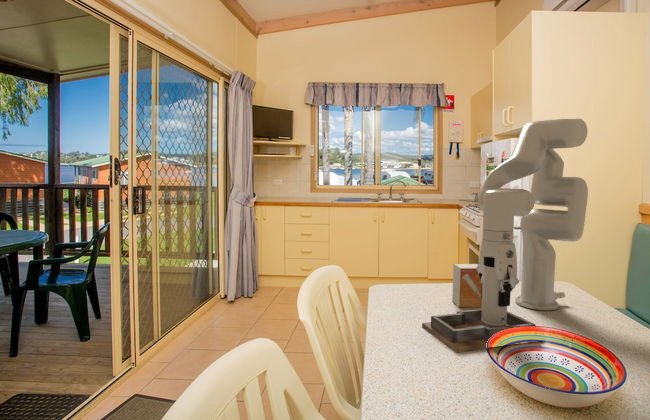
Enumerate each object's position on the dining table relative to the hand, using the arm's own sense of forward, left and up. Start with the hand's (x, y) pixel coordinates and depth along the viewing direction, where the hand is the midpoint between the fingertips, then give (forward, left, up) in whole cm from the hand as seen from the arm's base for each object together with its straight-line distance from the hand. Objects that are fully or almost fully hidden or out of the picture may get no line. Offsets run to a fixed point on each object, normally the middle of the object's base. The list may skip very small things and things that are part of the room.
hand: (495, 301), depth 107 cm
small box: (-7, -22, -9) cm, 25 cm away
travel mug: (0, 0, -7) cm, 7 cm away
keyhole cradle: (+5, 0, -9) cm, 10 cm away
